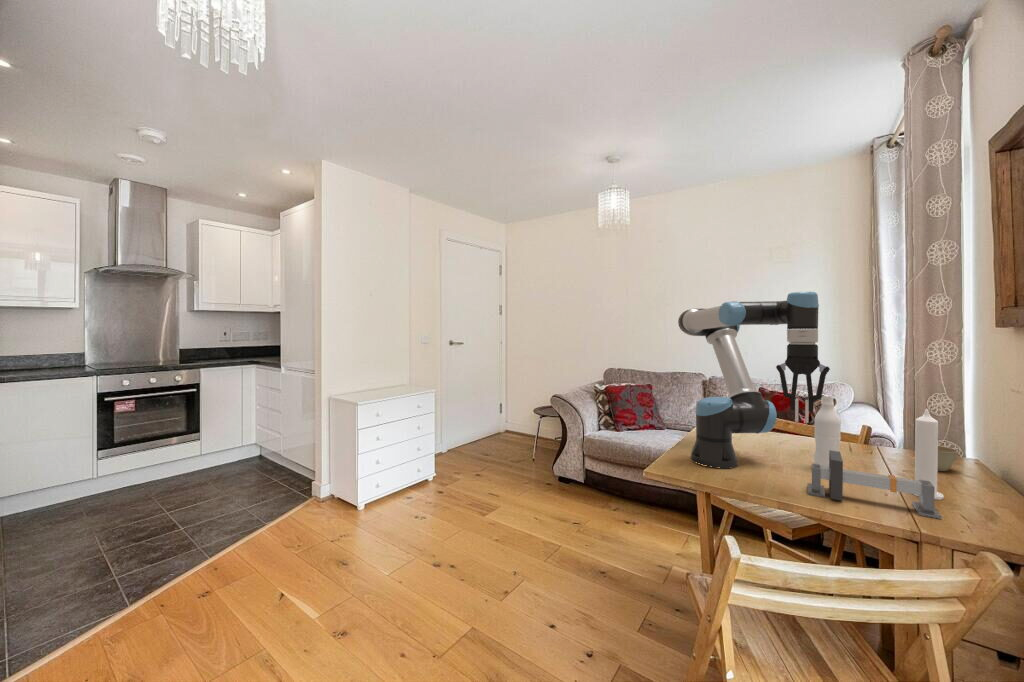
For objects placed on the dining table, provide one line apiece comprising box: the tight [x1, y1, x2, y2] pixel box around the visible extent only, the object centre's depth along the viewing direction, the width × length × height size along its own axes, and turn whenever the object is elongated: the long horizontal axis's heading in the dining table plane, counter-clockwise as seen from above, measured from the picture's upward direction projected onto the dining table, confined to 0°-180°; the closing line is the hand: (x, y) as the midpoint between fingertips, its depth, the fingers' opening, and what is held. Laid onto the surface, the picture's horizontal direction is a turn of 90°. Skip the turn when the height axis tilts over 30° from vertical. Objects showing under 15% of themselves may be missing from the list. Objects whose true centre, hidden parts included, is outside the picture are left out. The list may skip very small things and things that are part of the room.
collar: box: [828, 450, 844, 502], centre depth 115 cm, size 2×11×11 cm, turn 143°
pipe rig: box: [806, 463, 942, 520], centre depth 111 cm, size 27×8×8 cm, turn 54°
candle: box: [912, 408, 945, 501], centre depth 114 cm, size 7×7×25 cm
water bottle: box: [813, 395, 842, 467], centre depth 135 cm, size 7×7×25 cm
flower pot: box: [937, 445, 959, 472], centre depth 136 cm, size 10×10×7 cm
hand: (801, 421), depth 119 cm, fingers open, 2 cm apart
